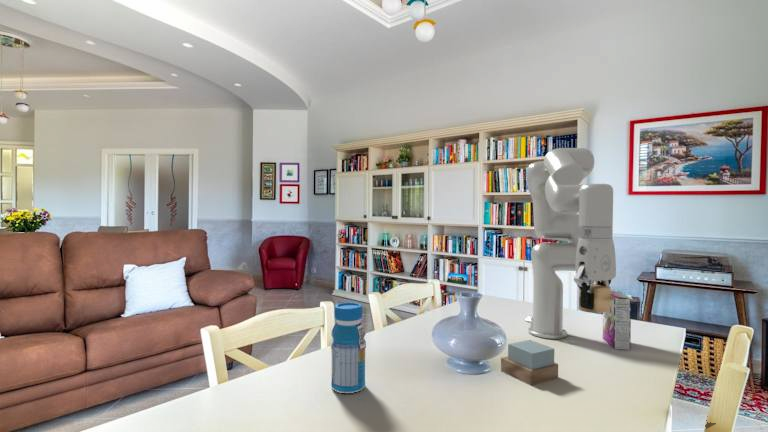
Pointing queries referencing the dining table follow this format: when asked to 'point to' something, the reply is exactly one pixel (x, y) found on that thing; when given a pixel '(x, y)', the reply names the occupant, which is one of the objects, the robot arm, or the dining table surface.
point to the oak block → (599, 299)
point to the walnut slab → (529, 372)
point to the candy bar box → (618, 322)
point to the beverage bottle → (348, 349)
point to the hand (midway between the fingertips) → (594, 306)
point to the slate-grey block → (531, 354)
